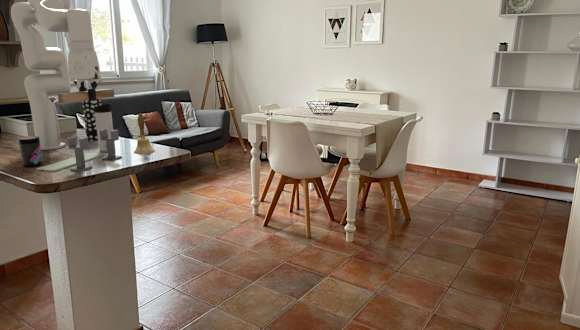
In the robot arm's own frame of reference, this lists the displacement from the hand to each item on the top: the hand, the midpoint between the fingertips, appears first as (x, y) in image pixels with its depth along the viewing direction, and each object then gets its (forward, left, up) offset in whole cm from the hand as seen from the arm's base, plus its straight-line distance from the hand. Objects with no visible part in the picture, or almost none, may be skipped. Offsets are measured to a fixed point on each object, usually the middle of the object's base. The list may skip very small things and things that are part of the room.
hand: (88, 99), depth 157 cm
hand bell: (+5, +23, -24) cm, 34 cm away
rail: (0, 0, 0) cm, 0 cm away
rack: (+1, 0, -24) cm, 24 cm away
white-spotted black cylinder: (-34, +40, -24) cm, 58 cm away
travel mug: (-10, +19, -24) cm, 32 cm away
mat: (-10, 0, -24) cm, 26 cm away
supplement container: (-21, -8, -24) cm, 33 cm away
